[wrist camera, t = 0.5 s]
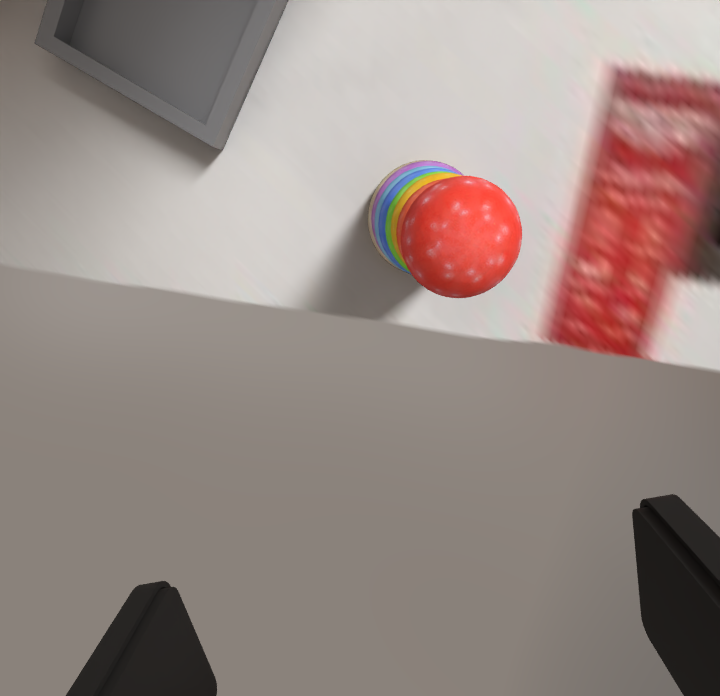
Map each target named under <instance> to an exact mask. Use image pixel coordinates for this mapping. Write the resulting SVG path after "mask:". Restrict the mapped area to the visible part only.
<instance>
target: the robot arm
mask: <svg viewBox="0 0 720 696" xmlns="http://www.w3.org/2000/svg"><path fill="white" fill-rule="evenodd" d="M632 516H633V528H634V539H635V551H636V562H637V573H638V584H639V595H640V607H641V617H642V622H643V626H644V628H645V631H646V633H647V635H648V638H649V639H650V641H651V643H652V644H653V646H654V648H655V649H656V651H657V653H658V654H659V656H660V657H661V659H662V661H663V662H664V664H665V666H666V667H667V669H668V671H669V672H670V674H671V675H672V677H673V679H674V680H675V682H676V684H677V685H678V687H679V688H680V690H681V692H682V693H683V695H684V696H720V537H719V536H717V535H716V534H715V532H713V530H711V529H710V527H709V526H708V525H707V524H705V522H704V521H703V520H701V519H700V517H698V515H696V514H695V513H694V512H693V511H692V510H691V509H690V508H689V507H688V506H687V505H686V504H685V503H684V502H683V501H682V500H681V499H680V498H679V497H678V496H677V495H673V494H672V495H666V496H660V497H655V498H648V499H643V500H642V501H641V503H640V508H638V509H634V510H633V513H632ZM216 694H217V683H216V679H215V676H214V674H213V672H212V669H211V667H210V665H209V662H208V660H207V658H206V655H205V653H204V651H203V648H202V646H201V644H200V641H199V639H198V636H197V634H196V632H195V629H194V627H193V625H192V622H191V620H190V618H189V616H188V613H187V611H186V608H185V606H184V604H183V602H182V599H181V597H180V594H179V592H178V590H177V589H176V588H175V587H171V586H170V585H169V583H167V582H166V581H161V582H155V583H149V584H143V585H139V586H137V587H135V589H134V590H133V591H132V592H131V594H130V596H129V597H128V599H127V600H126V602H125V603H124V605H123V606H122V608H121V610H120V611H119V613H118V614H117V616H116V618H115V619H114V621H113V622H112V624H111V625H110V627H109V628H108V630H107V632H106V633H105V635H104V636H103V638H102V639H101V641H100V643H99V644H98V646H97V647H96V649H95V651H94V652H93V654H92V655H91V657H90V659H89V660H88V662H87V663H86V665H85V666H84V668H83V669H82V671H81V673H80V674H79V676H78V678H77V679H76V681H75V682H74V684H73V685H72V687H71V688H70V690H69V691H68V693H67V695H66V696H216Z"/></svg>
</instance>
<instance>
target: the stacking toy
mask: <svg viewBox="0 0 720 696" xmlns="http://www.w3.org/2000/svg"><path fill="white" fill-rule="evenodd" d="M368 226H369V232H370V236H371V239H372V241H373V243H374V245H375V247H376V249H377V250H378V252H379V253H380V255H381V256H382V257H383V258H384V259H385V260H386V261H387V262H389V263H390V264H391V265H393V266H394V267H396V268H398V269H400V270H402V271H405V272H407V273H410V274H412V275H413V277H414V278H415V279H416V280H417V281H418V282H419V283H420V284H421V285H422V286H424V287H425V288H426V289H428V290H430V291H432V292H434V293H436V294H438V295H441V296H445V297H451V298H466V297H472V296H476V295H479V294H481V293H484V292H486V291H488V290H490V289H491V288H493V287H494V286H496V285H497V284H498V283H499V282H500V281H502V280H503V279H504V278H505V276H506V275H507V274H508V273H509V271H510V270H511V268H512V267H513V265H514V263H515V262H516V260H517V258H518V255H519V252H520V247H521V240H522V227H521V222H520V217H519V214H518V211H517V209H516V207H515V205H514V204H513V202H512V200H511V199H510V198H509V197H508V196H507V194H506V193H505V192H504V191H503V190H502V189H500V188H499V187H498V186H497V185H495V184H493V183H491V182H489V181H487V180H484V179H482V178H478V177H472V176H464V175H463V174H462V173H461V172H459V171H458V170H456V169H455V168H453V167H451V166H449V165H447V164H444V163H441V162H437V161H428V160H421V161H414V162H410V163H407V164H404V165H402V166H400V167H398V168H396V169H395V170H393V171H392V172H390V173H389V174H388V175H387V176H386V177H385V178H384V179H383V180H382V181H381V182H380V184H379V185H378V187H377V189H376V190H375V192H374V194H373V197H372V199H371V202H370V206H369V212H368Z"/></svg>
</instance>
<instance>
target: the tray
mask: <svg viewBox="0 0 720 696" xmlns="http://www.w3.org/2000/svg"><path fill="white" fill-rule="evenodd" d="M287 2H288V0H48V1H47V4H46V7H45V11H44V14H43V17H42V20H41V24H40V27H39V30H38V34H37V37H36V40H35V44H36V45H38V46H40V47H42V48H43V49H45V50H47V51H49V52H50V53H52V54H54V55H55V56H57V57H59V58H61V59H62V60H64V61H66V62H67V63H69V64H71V65H73V66H74V67H76V68H78V69H79V70H81V71H83V72H85V73H86V74H88V75H90V76H91V77H93V78H95V79H97V80H98V81H100V82H102V83H104V84H105V85H107V86H109V87H110V88H112V89H114V90H116V91H117V92H119V93H121V94H122V95H124V96H126V97H128V98H129V99H131V100H133V101H134V102H136V103H138V104H140V105H141V106H143V107H145V108H146V109H148V110H150V111H152V112H153V113H155V114H157V115H159V116H160V117H162V118H164V119H165V120H167V121H169V122H171V123H172V124H174V125H176V126H177V127H179V128H181V129H183V130H184V131H186V132H188V133H189V134H191V135H193V136H195V137H196V138H198V139H200V140H201V141H203V142H205V143H207V144H208V145H210V146H212V147H214V148H217V149H220V150H223V148H224V146H225V144H226V142H227V139H228V137H229V135H230V132H231V130H232V128H233V126H234V123H235V121H236V119H237V116H238V114H239V112H240V110H241V107H242V105H243V103H244V100H245V98H246V96H247V94H248V91H249V89H250V87H251V84H252V82H253V80H254V78H255V75H256V73H257V71H258V68H259V66H260V64H261V62H262V59H263V57H264V55H265V52H266V50H267V48H268V46H269V43H270V41H271V39H272V36H273V34H274V32H275V30H276V27H277V25H278V23H279V20H280V18H281V16H282V14H283V11H284V9H285V7H286V5H287Z"/></svg>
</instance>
